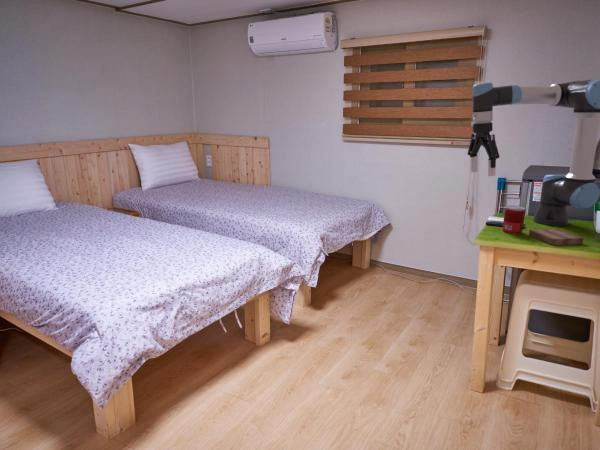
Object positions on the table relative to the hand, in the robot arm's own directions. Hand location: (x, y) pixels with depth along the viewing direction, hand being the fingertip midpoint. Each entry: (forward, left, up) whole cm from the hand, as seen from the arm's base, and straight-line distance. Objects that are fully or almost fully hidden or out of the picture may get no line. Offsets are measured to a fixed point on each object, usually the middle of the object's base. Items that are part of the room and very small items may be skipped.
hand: (482, 173), depth 193 cm
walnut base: (-27, +14, -26) cm, 40 cm away
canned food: (-17, 0, -26) cm, 31 cm away
